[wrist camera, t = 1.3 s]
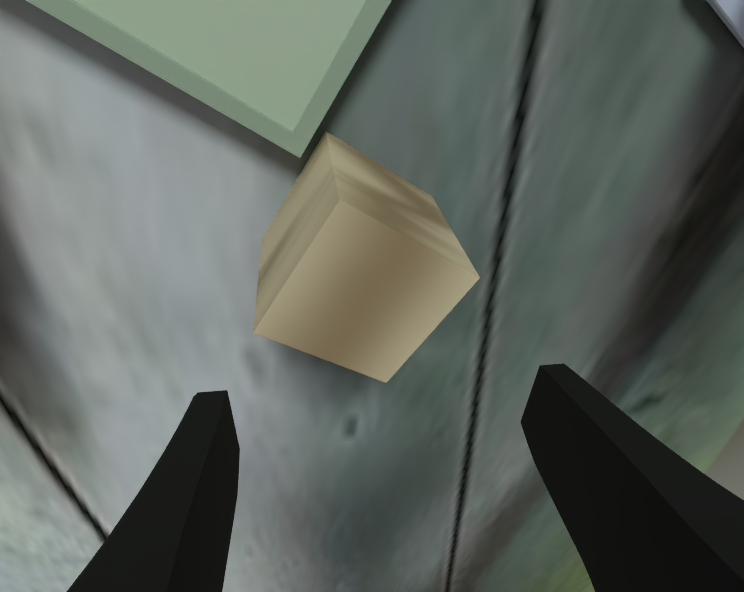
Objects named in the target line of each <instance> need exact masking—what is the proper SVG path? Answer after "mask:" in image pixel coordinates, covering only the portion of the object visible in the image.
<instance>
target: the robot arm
mask: <svg viewBox="0 0 744 592" xmlns="http://www.w3.org/2000/svg"><path fill="white" fill-rule="evenodd" d="M706 1H707V2H708V3H709V4H710V6H711V7H712V8H713V10H714V11H715V12H716V13H717V15H718V16H719V17H720V18H721V20H722V21H723V22H724V23H725V25H726V26H727V27H728V29H729V30H730V31H731V32H732V34H733V35H734V36H735V37H736V39H737V40H738V41H739V43H740V44H741V45H742V46H743V48H744V0H706ZM521 425H522V428H523V431H524V434H525V437H526V440H527V443H528V446H529V449H530V451H531V454H532V457H533V460H534V462H535V464H536V467H537V469H538V471H539V473H540V475H541V477H542V479H543V481H544V483H545V485H546V487H547V489H548V491H549V494H550V496H551V498H552V500H553V502H554V504H555V506H556V508H557V510H558V512H559V514H560V516H561V518H562V520H563V522H564V524H565V526H566V528H567V530H568V532H569V534H570V536H571V538H572V540H573V542H574V544H575V546H576V548H577V550H578V552H579V554H580V556H581V559H582V561H583V563H584V565H585V567H586V570H587V572H588V574H589V577H590V579H591V582H592V584H593V587H594V589H595V592H744V500H742V499H741V498H739V497H737V496H736V495H734V494H733V493H731V492H730V491H728V490H727V489H725V488H724V487H722V486H721V485H719V484H718V483H716V482H715V481H713V480H712V479H711V478H709V477H708V476H706V475H705V474H703V473H702V472H701V471H699V470H698V469H696V468H695V467H694V466H692V465H691V464H690V463H688V462H687V461H686V460H684V459H683V458H681V457H680V456H679V455H677V454H676V453H675V452H673V451H672V450H671V449H669V448H668V447H667V446H665V445H664V444H663V443H661V442H660V441H659V440H658V439H656V438H655V437H654V436H652V435H651V434H650V433H649V432H647V431H646V430H645V429H643V428H642V427H641V426H640V425H638V424H637V423H636V422H635V421H633V420H632V419H631V418H630V417H629V416H627V415H626V414H625V413H624V412H622V411H621V410H620V409H619V408H618V407H616V406H615V405H614V404H613V403H611V402H610V401H609V400H608V399H607V398H605V397H604V396H603V395H602V394H601V393H599V392H598V391H597V390H596V389H595V388H593V387H592V386H591V385H590V384H589V383H587V382H586V381H585V380H584V379H583V378H581V377H580V376H579V375H578V374H576V373H575V372H574V371H573V370H571V369H570V368H569V367H568V366H566V365H565V364H553V365H540V367H539V369H538V372H537V375H536V378H535V381H534V384H533V387H532V390H531V393H530V396H529V399H528V402H527V405H526V408H525V410H524V413H523V416H522V419H521ZM239 453H240V448H239V443H238V439H237V434H236V429H235V425H234V420H233V415H232V410H231V406H230V401H229V396H228V392H227V390H225V391H212V392H199V393H197V394H196V395H195V396H194V397H193V399H192V401H191V403H190V405H189V407H188V409H187V411H186V413H185V415H184V417H183V419H182V420H181V422H180V424H179V426H178V428H177V430H176V431H175V433H174V435H173V437H172V439H171V440H170V442H169V444H168V445H167V447H166V449H165V451H164V452H163V454H162V456H161V457H160V459H159V461H158V462H157V464H156V465H155V467H154V469H153V470H152V472H151V474H150V475H149V477H148V478H147V480H146V482H145V483H144V485H143V486H142V488H141V490H140V491H139V493H138V494H137V496H136V497H135V499H134V500H133V502H132V503H131V504H130V506H129V507H128V509H127V510H126V512H125V513H124V515H123V516H122V518H121V519H120V521H119V522H118V523H117V525H116V526H115V528H114V529H113V531H112V532H111V534H110V535H109V536H108V538H107V539H106V541H105V542H104V543H103V545H102V546H101V547H100V549H99V550H98V552H97V553H96V554H95V556H94V557H93V558H92V560H91V561H90V562H89V564H88V565H87V566H86V567H85V569H84V570H83V571H82V573H81V574H80V575H79V576H78V578H77V579H76V580H75V582H74V583H73V584H72V585H71V587H70V588H69V589H68V591H67V592H222V589H223V583H224V576H225V570H226V564H227V558H228V551H229V545H230V539H231V533H232V526H233V520H234V514H235V507H236V501H237V493H238V475H239Z"/></svg>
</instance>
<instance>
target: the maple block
mask: <svg viewBox="0 0 744 592" xmlns="http://www.w3.org/2000/svg"><path fill="white" fill-rule="evenodd" d="M479 278H480V277H479V275H478V274H477V272H476V270H475V269H474V267H473V265H472V264H471V262H470V260H469V258H468V257H467V255H466V253H465V252H464V250H463V248H462V247H461V245H460V243H459V242H458V240H457V238H456V237H455V235H454V233H453V231H452V230H451V228H450V226H449V225H448V223H447V221H446V220H445V218H444V216H443V215H442V213H441V211H440V210H439V208H438V206H437V204H436V203H435V201H434V199H433V198H432V196H430V195H428V194H427V193H425V192H423V191H422V190H420V189H419V188H417V187H415V186H414V185H412V184H411V183H409V182H407V181H406V180H404V179H403V178H401V177H399V176H398V175H396V174H394V173H393V172H391V171H390V170H388V169H386V168H385V167H383V166H382V165H380V164H378V163H377V162H375V161H373V160H372V159H370V158H369V157H367V156H365V155H364V154H362V153H361V152H359V151H357V150H356V149H354V148H352V147H351V146H349V145H348V144H346V143H344V142H343V141H341V140H340V139H338V138H336V137H335V136H333V135H332V134H330V133H328V132H327V131H325V132H324V134H323V136H322V137H321V139H320V141H319V143H318V144H317V146H316V148H315V149H314V151H313V153H312V154H311V156H310V158H309V159H308V161H307V163H306V165H305V166H304V168H303V170H302V171H301V173H300V175H299V176H298V178H297V180H296V181H295V183H294V185H293V187H292V188H291V190H290V192H289V193H288V195H287V197H286V198H285V200H284V202H283V203H282V205H281V207H280V209H279V210H278V212H277V214H276V215H275V217H274V219H273V220H272V222H271V224H270V225H269V227H268V229H267V231H266V232H265V234H264V236H263V237H262V246H261V256H260V267H259V277H258V287H257V297H256V308H255V318H254V328H253V333H255V334H258V335H260V336H263V337H266V338H268V339H271V340H274V341H276V342H279V343H282V344H284V345H287V346H290V347H292V348H295V349H298V350H300V351H303V352H305V353H308V354H311V355H313V356H316V357H319V358H321V359H324V360H327V361H329V362H332V363H335V364H337V365H340V366H343V367H345V368H348V369H351V370H353V371H356V372H359V373H361V374H364V375H367V376H369V377H372V378H375V379H377V380H380V381H383V382H385V383H387V382H388V380H389V379H390V378H391V377H392V376H393V375H394V374H395V373H396V371H397V370H398V369H399V368H400V367H401V366H402V365H403V364H404V362H405V361H406V360H407V359H408V358H409V357H410V356H411V355H412V354H413V352H414V351H415V350H416V349H417V348H418V347H419V346H420V345H421V343H422V342H423V341H424V340H425V339H426V338H427V337H428V336H429V334H430V333H431V332H432V331H433V330H434V329H435V328H436V327H437V325H438V324H439V323H440V322H441V321H442V320H443V319H444V318H445V316H446V315H447V314H448V313H449V312H450V311H451V310H452V309H453V308H454V306H455V305H456V304H457V303H458V302H459V301H460V300H461V299H462V297H463V296H464V295H465V294H466V293H467V292H468V291H469V290H470V288H471V287H472V286H473V285H474V284H475V283H476V282H477V281H478V279H479Z"/></svg>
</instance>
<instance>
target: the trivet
mask: <svg viewBox="0 0 744 592" xmlns="http://www.w3.org/2000/svg"><path fill="white" fill-rule="evenodd" d="M26 1H28V2H29V3H31V4H33V5H34V6H36V7H38V8H40V9H41V10H43V11H45V12H47V13H48V14H50V15H52V16H54V17H55V18H57V19H59V20H61V21H62V22H64V23H66V24H68V25H69V26H71V27H73V28H74V29H76V30H78V31H80V32H81V33H83V34H85V35H87V36H88V37H90V38H92V39H94V40H95V41H97V42H99V43H101V44H102V45H104V46H106V47H108V48H109V49H111V50H113V51H114V52H116V53H118V54H120V55H121V56H123V57H125V58H127V59H128V60H130V61H132V62H134V63H135V64H137V65H139V66H141V67H142V68H144V69H146V70H148V71H149V72H151V73H153V74H155V75H156V76H158V77H160V78H161V79H163V80H165V81H167V82H168V83H170V84H172V85H174V86H175V87H177V88H179V89H181V90H182V91H184V92H186V93H188V94H189V95H191V96H193V97H195V98H196V99H198V100H200V101H201V102H203V103H205V104H207V105H208V106H210V107H212V108H214V109H215V110H217V111H219V112H221V113H222V114H224V115H226V116H228V117H229V118H231V119H233V120H235V121H236V122H238V123H240V124H241V125H243V126H245V127H247V128H248V129H250V130H252V131H254V132H255V133H257V134H259V135H261V136H262V137H264V138H266V139H268V140H269V141H271V142H273V143H275V144H276V145H278V146H280V147H282V148H283V149H285V150H287V151H288V152H290V153H292V154H294V155H295V156H297V157H299V158H300V157H301V156H302V154H303V152H304V151H305V149H306V147H307V145H308V144H309V142H310V140H311V138H312V137H313V135H314V133H315V132H316V130H317V128H318V126H319V125H320V123H321V121H322V119H323V118H324V116H325V114H326V113H327V111H328V109H329V107H330V106H331V104H332V102H333V101H334V99H335V97H336V95H337V94H338V92H339V90H340V88H341V87H342V85H343V83H344V82H345V80H346V78H347V76H348V75H349V73H350V71H351V70H352V68H353V66H354V64H355V63H356V61H357V59H358V57H359V56H360V54H361V52H362V51H363V49H364V47H365V45H366V44H367V42H368V40H369V38H370V37H371V35H372V33H373V32H374V30H375V28H376V26H377V25H378V23H379V21H380V20H381V18H382V16H383V14H384V13H385V11H386V9H387V7H388V6H389V4H390V2H391V1H392V0H26Z"/></svg>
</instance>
